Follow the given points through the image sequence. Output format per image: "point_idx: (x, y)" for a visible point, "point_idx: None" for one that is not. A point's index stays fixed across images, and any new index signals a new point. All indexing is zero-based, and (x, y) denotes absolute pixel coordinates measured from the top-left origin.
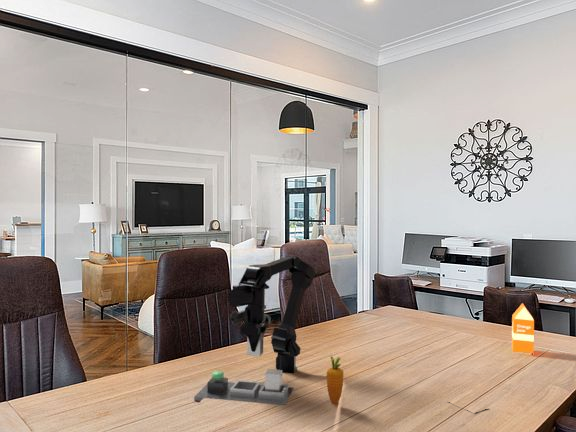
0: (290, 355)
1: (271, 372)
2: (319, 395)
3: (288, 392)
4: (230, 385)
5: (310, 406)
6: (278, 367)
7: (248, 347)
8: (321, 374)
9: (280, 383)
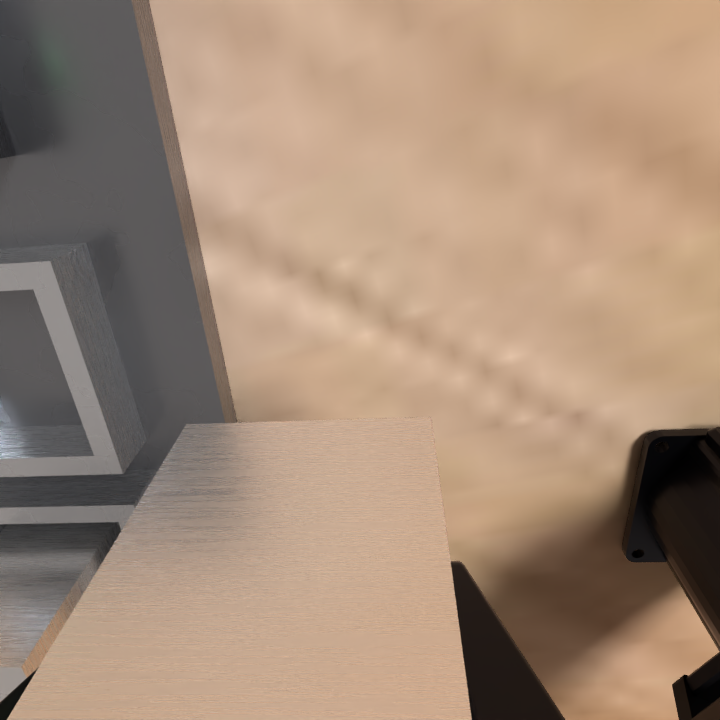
0: (680, 693)
1: None
2: None
3: None
4: (77, 162)
5: None
6: (702, 462)
7: (126, 559)
8: (631, 686)
9: None
